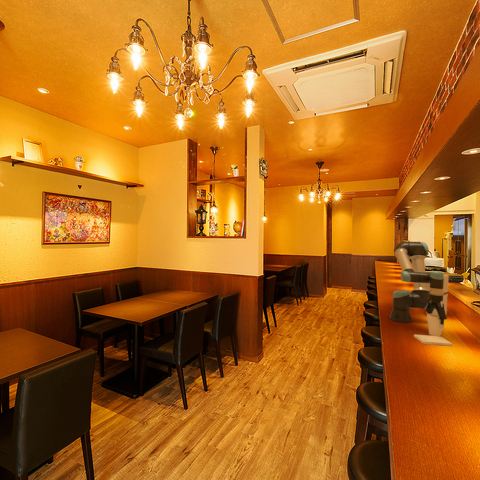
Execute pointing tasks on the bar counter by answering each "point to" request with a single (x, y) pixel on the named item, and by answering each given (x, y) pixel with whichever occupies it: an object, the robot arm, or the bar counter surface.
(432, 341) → the tile
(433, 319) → the foam cup
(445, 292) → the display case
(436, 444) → the bar counter surface
